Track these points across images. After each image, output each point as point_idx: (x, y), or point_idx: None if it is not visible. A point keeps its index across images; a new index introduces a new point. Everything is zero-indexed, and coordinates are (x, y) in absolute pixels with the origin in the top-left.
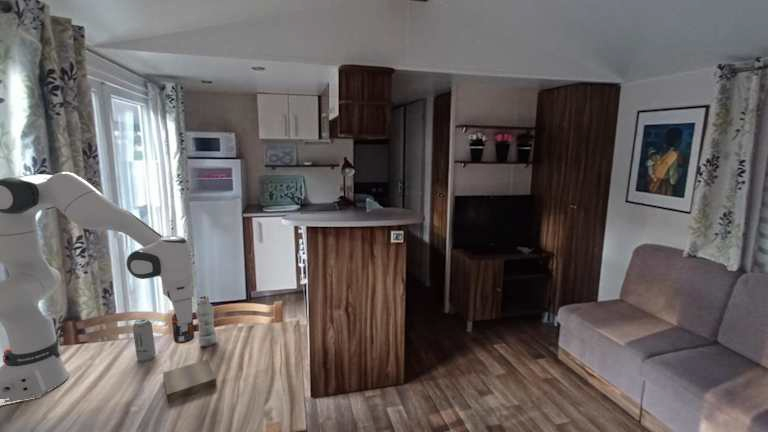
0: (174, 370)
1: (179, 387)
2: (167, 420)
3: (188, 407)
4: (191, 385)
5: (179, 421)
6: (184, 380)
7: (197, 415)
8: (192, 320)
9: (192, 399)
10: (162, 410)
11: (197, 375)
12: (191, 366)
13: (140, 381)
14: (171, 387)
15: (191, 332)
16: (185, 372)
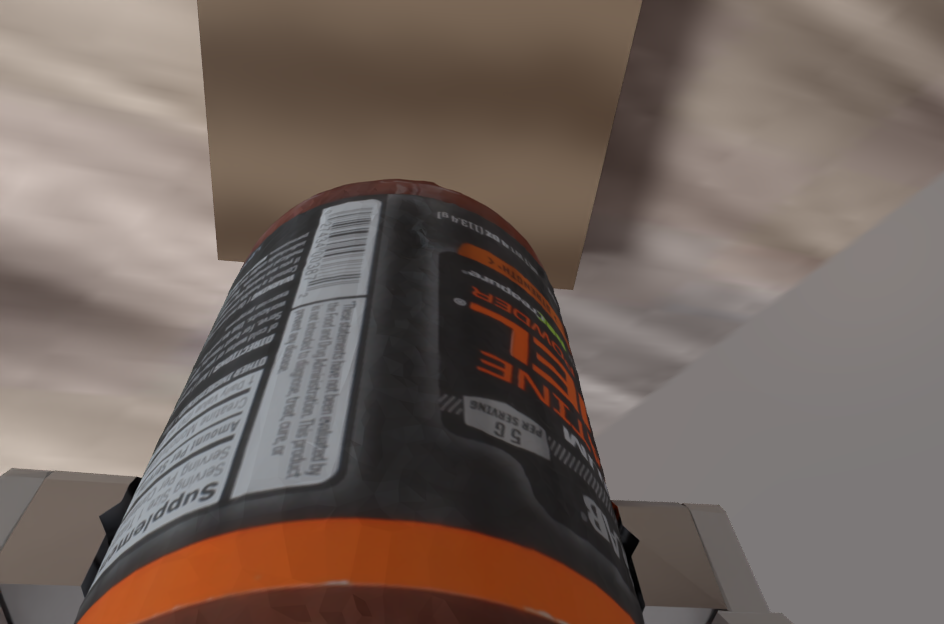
0: (236, 179)
1: (548, 204)
2: (736, 287)
3: (723, 162)
4: (598, 123)
5: (810, 238)
6: (473, 150)
7: (863, 137)
8: (494, 453)
9: (654, 115)
10: (612, 292)
11: (471, 32)
12: (255, 34)
13: (152, 342)
14: None
15: (547, 319)
16: (337, 110)
